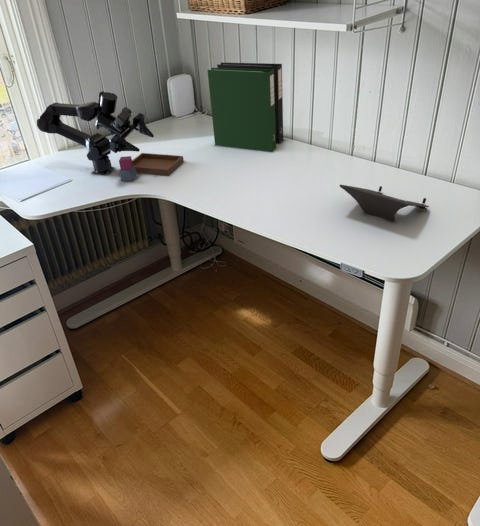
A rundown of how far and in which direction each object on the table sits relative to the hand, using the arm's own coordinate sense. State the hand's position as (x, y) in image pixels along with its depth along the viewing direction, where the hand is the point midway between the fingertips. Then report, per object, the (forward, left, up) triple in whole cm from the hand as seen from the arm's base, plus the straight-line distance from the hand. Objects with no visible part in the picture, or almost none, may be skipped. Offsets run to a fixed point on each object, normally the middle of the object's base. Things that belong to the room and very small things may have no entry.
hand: (146, 143), depth 183 cm
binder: (+26, +42, -14) cm, 51 cm away
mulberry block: (-9, -3, -10) cm, 14 cm away
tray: (-4, +10, -14) cm, 18 cm away
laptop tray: (+90, -8, -14) cm, 91 cm away
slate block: (-9, -3, -14) cm, 17 cm away
